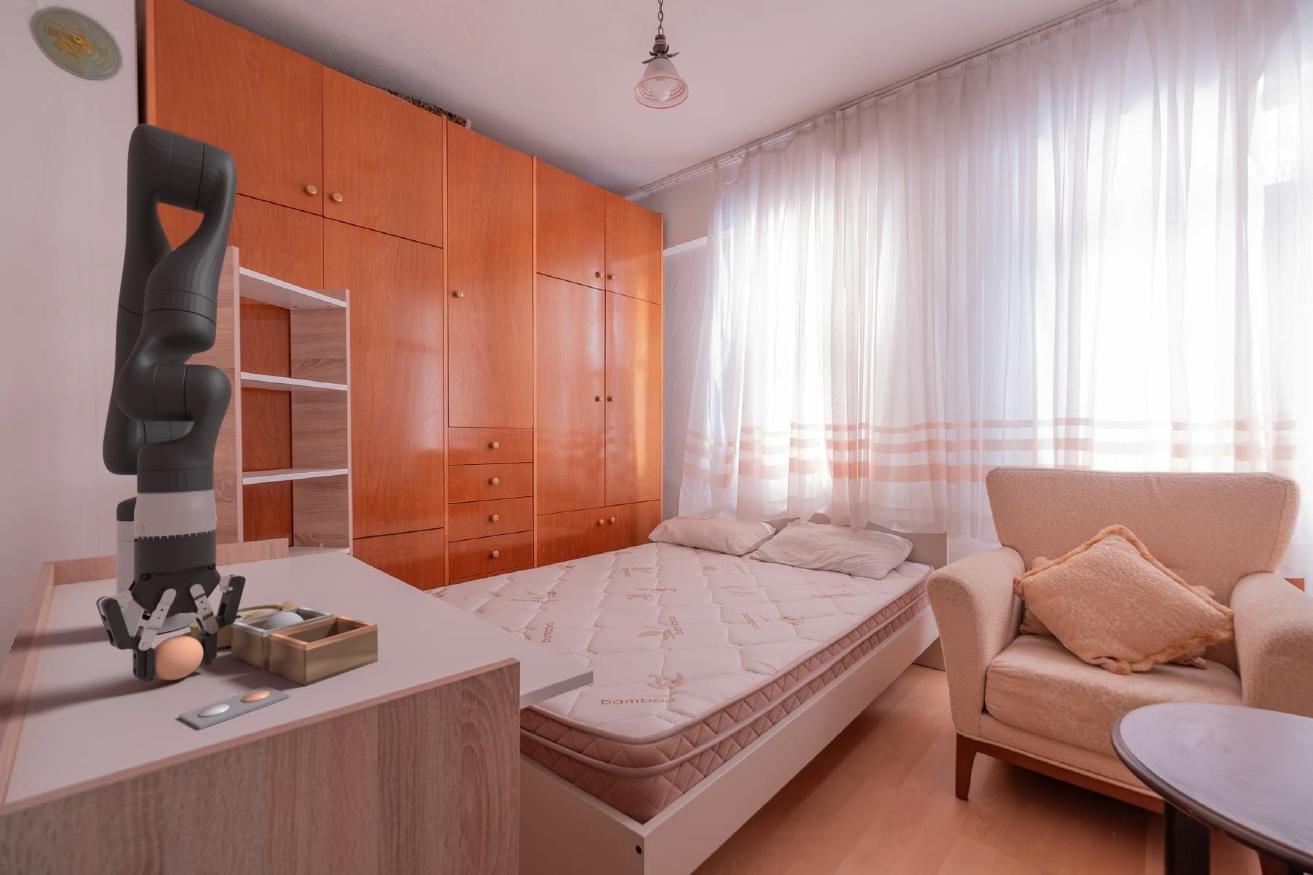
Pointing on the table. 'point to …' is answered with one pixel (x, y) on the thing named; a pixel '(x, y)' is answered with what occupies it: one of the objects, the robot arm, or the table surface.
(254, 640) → the grey-band box
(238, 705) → the card
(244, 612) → the alarm clock
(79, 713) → the table surface
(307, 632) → the terracotta-rimmed square box
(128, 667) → the table surface
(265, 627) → the grey ball
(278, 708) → the table surface
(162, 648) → the terracotta ball
